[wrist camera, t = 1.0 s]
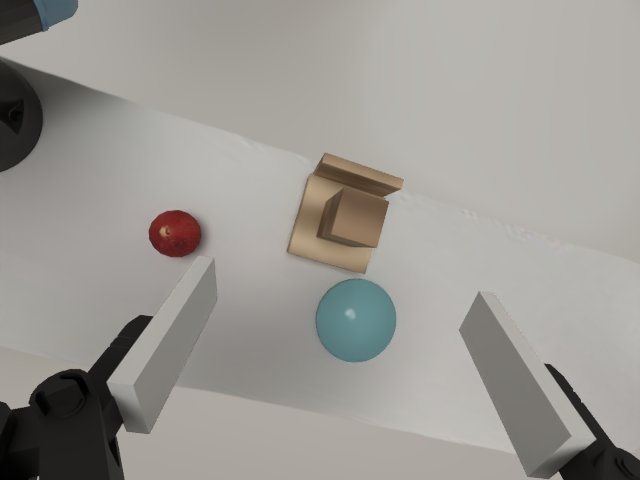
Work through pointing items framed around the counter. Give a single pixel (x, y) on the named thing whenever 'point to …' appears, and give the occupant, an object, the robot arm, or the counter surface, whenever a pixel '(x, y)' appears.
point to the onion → (174, 233)
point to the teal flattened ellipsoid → (355, 320)
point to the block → (353, 219)
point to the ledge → (317, 191)
